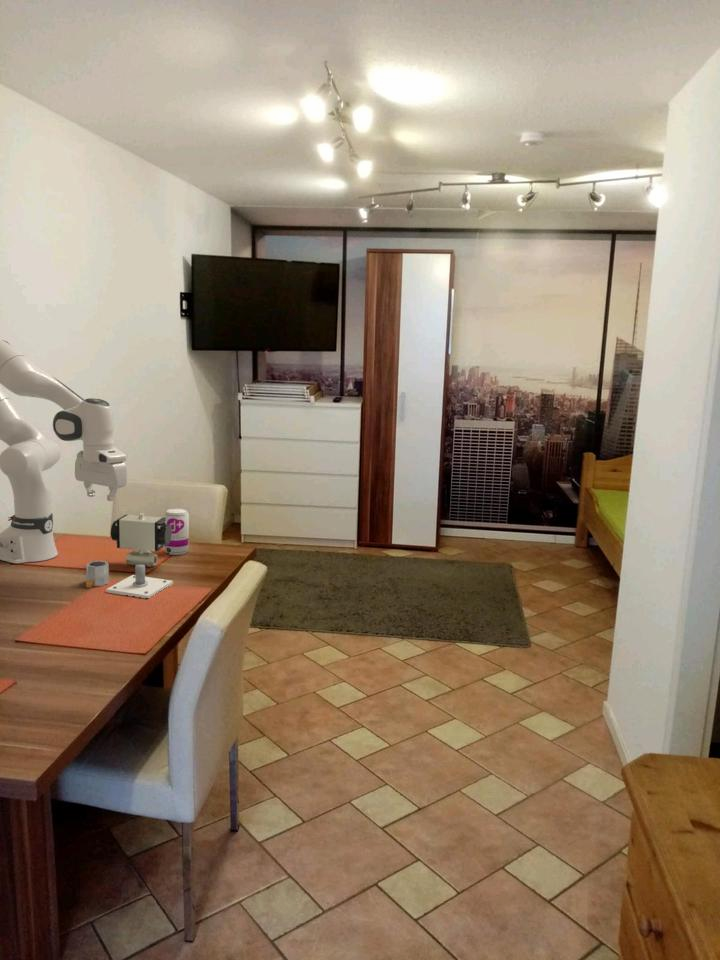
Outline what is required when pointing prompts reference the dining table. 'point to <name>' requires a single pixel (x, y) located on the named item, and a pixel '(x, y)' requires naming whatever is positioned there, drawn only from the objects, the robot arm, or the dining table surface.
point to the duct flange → (139, 584)
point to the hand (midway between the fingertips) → (101, 498)
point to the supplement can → (178, 531)
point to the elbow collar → (97, 573)
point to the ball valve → (141, 537)
